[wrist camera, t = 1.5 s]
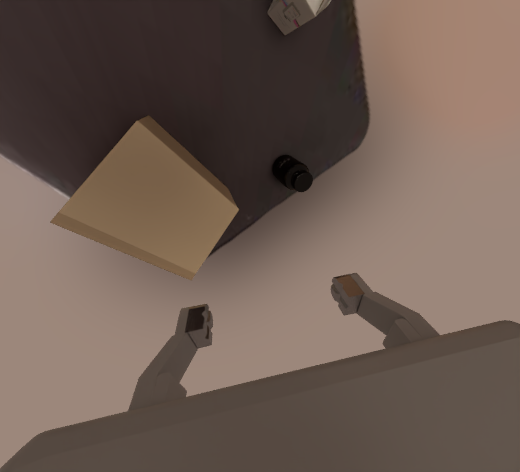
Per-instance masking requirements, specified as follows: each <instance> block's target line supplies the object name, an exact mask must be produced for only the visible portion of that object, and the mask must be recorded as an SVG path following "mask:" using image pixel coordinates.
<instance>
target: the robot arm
mask: <svg viewBox="0 0 520 472" xmlns="http://www.w3.org/2000/svg"><path fill="white" fill-rule="evenodd" d="M332 282H333V285H332V286H331V293H332V296H333V298H334V300H335V301H337V302H338V303H339V305H338V306H339V308H340V310H341V311H342V313H343V315H348V314H354V313H357V314H358V315H359V316H361V317H362V318H363V319H365V320H366V321H368V322H369V323H370V324H372V325H373V326H375V327H376V328H377V329H379V330H380V331H381V332H383V333H384V334H385V335H387V336H386V337H385V339H384V341H383V345H384V347H385V348H386V349H383V350H378V351H374V352H370V353H366V354H362V355H358V356H354V357H349V358H345V359H341V360H337V361H333V362H329V363H325V364H320V365H316V366H312V367H308V368H304V369H300V370H296V371H292V372H287V373H283V374H279V375H275V376H271V377H267V378H263V379H259V380H255V381H250V382H246V383H242V384H238V385H234V386H230V387H226V388H222V389H218V390H213V391H210V392H206V393H201V394H197V395H193V396H189V397H186V393H187V391H186V390H185V388H184V387H183V386H182V385H181V384H179V382H180V380H181V379H182V377H183V375H184V373H185V371H186V370H187V368H188V366H189V364H190V362H191V360H192V358H193V357H194V355H195V353H196V351H197V349H198V348H201V347H206V346H209V345H212V332H211V328H212V327H213V319H212V314H211V312H210V311H209V310H208V309H209V307H208V305H207V304H203V305H198V306H193V307H187V308H182V309H181V311H180V314H179V318H178V323H177V327H176V332H175V335H174V336H172V337H171V338H170V339H169V341H168V342H167V343H166V344H165V346H164V347H163V348H162V349H161V351H160V352H159V353H158V355H157V356H156V357H155V358H154V360H153V361H152V362H151V363H150V365H149V366H148V367H147V368H146V370H145V371H144V372H143V374H142V375H141V376H140V377H139V379H138V382H137V385H136V388H135V392H134V395H133V398H132V401H131V404H130V407H129V410H128V411H127V412H123V413H119V414H115V415H111V416H106V417H102V418H98V419H95V420H90V421H86V422H82V423H78V424H74V425H70V426H65V427H61V428H57V429H52V430H49V431H45V432H43V433H40V434H38V435H37V436H35V437H34V438H33V439H31V440H30V441H29V442H28V443H27V444H26V445H25V446H23V447H22V448H21V449H20V450H19V451H18V452H17V453H16V454H15V455H14V456H13V457H12V458H11V459H10V460H9V461H8V462H7V463H5V464H4V465H3V466H2V467H1V468H0V472H520V324H518V323H516V322H512V321H506V320H505V321H498V322H494V323H490V324H486V325H482V326H477V327H473V328H469V329H465V330H461V331H457V332H453V333H448V334H444V335H439V334H438V333H437V332H436V330H434V328H433V327H432V326H431V325H430V324H429V323H428V322H427V321H426V320H425V319H423V317H422V316H421V315H420V314H418V313H417V312H415V311H413V310H411V309H409V308H406V307H405V306H402V305H401V304H399V303H397V302H395V301H393V300H391V299H389V298H387V297H385V296H383V295H381V294H379V293H377V292H373V291H372V290H371V289H370V288H369V286H367V284H366V283H365V282H364V281H363V279H362V278H361V277H360V276H359V275H358V274H357V273H353V274H348V275H343V276H338V277H334V278H333V279H332Z"/></svg>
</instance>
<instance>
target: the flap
mask: <svg viewBox="0 0 520 472" xmlns="http://www.w3.org/2000/svg"><path fill="white" fill-rule="evenodd" d="M238 210H239V209H238V208H237V207H236V206H235V205H234V204H233V203H231V202H230V201H229V200H228V199H227V198H226V197H225V196H223V195H222V194H221V193H220V192H219V191H218V190H217V189H215V188H214V187H213V186H212V185H211V184H210V183H209V182H207V181H206V180H205V179H204V178H203V177H202V176H201V175H199V174H198V173H197V172H196V171H195V170H194V169H193V168H191V167H190V166H189V165H188V164H187V163H186V162H185V161H183V160H182V159H181V158H180V157H179V156H178V155H177V154H175V153H174V152H173V151H172V150H171V149H170V148H168V147H167V146H166V145H165V144H164V143H163V142H162V141H160V140H159V139H158V138H157V137H156V136H155V135H154V134H152V133H151V132H150V131H149V130H148V129H147V128H146V127H144V126H143V125H142V124H141V123H140V122H139V121H138V120H137V121H136V122H135V123H134V125H133V126H132V127H131V128H130V129H129V130H128V132H127V133H126V134H125V135H124V136H123V137H122V139H121V140H120V141H119V142H118V143H117V144H116V146H115V147H114V148H113V149H112V150H111V151H110V153H109V154H108V155H107V156H106V157H105V158H104V160H103V161H102V162H101V163H100V164H99V165H98V167H97V168H96V169H95V170H94V171H93V173H92V174H91V175H90V176H89V177H88V178H87V180H86V181H85V182H84V183H83V184H82V185H81V187H80V188H79V189H78V190H77V191H76V192H75V194H74V195H73V196H72V197H71V198H70V199H69V201H68V202H67V203H66V204H65V205H64V206H63V208H62V209H61V210H60V211H59V212H58V213H57V215H56V216H55V217H54V218H53V219H52V220H51V223H53V224H55V225H58V226H60V227H62V228H65V229H67V230H70V231H72V232H75V233H77V234H79V235H82V236H84V237H87V238H90V239H92V240H94V241H96V242H99V243H101V244H104V245H106V246H109V247H111V248H113V249H116V250H119V251H121V252H123V253H126V254H128V255H131V256H133V257H135V258H138V259H140V260H143V261H145V262H147V263H150V264H152V265H155V266H157V267H160V268H162V269H164V270H167V271H169V272H172V273H174V274H177V275H179V276H181V277H184V278H186V279H189V280H192V279H193V277H194V276H195V274H196V273H197V271H198V270H199V268H200V267H201V265H202V264H203V262H204V261H205V259H206V258H207V256H208V255H209V253H210V252H211V250H212V249H213V247H214V246H215V245H216V243H217V242H218V240H219V239H220V237H221V236H222V234H223V233H224V231H225V230H226V228H227V227H228V225H229V224H230V222H231V221H232V219H233V218H234V216H235V215H236V213H237V212H238Z"/></svg>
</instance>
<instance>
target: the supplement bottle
mask: <svg viewBox="0 0 520 472" xmlns="http://www.w3.org/2000/svg"><path fill="white" fill-rule="evenodd" d="M273 174H274V176H275V177H276V178H277V179H278V180H279V181H280V182H281V183H282V184H283V185H284V186H286V187H287V188H288V189H290V190H296V191H298V192H304V191H306V190H308V189H309V188H310V186H311V185H312V181H313V178H312V175H311V174H310V173H309V170H308V168H307V166H306V165H304V164H303V163H301V162H300V161H298V160H296V159H295V158H293V157H291V156H289V155H283V156H280V157H279V158H278V159H277V160H276V161H275V162H274V165H273Z"/></svg>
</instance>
